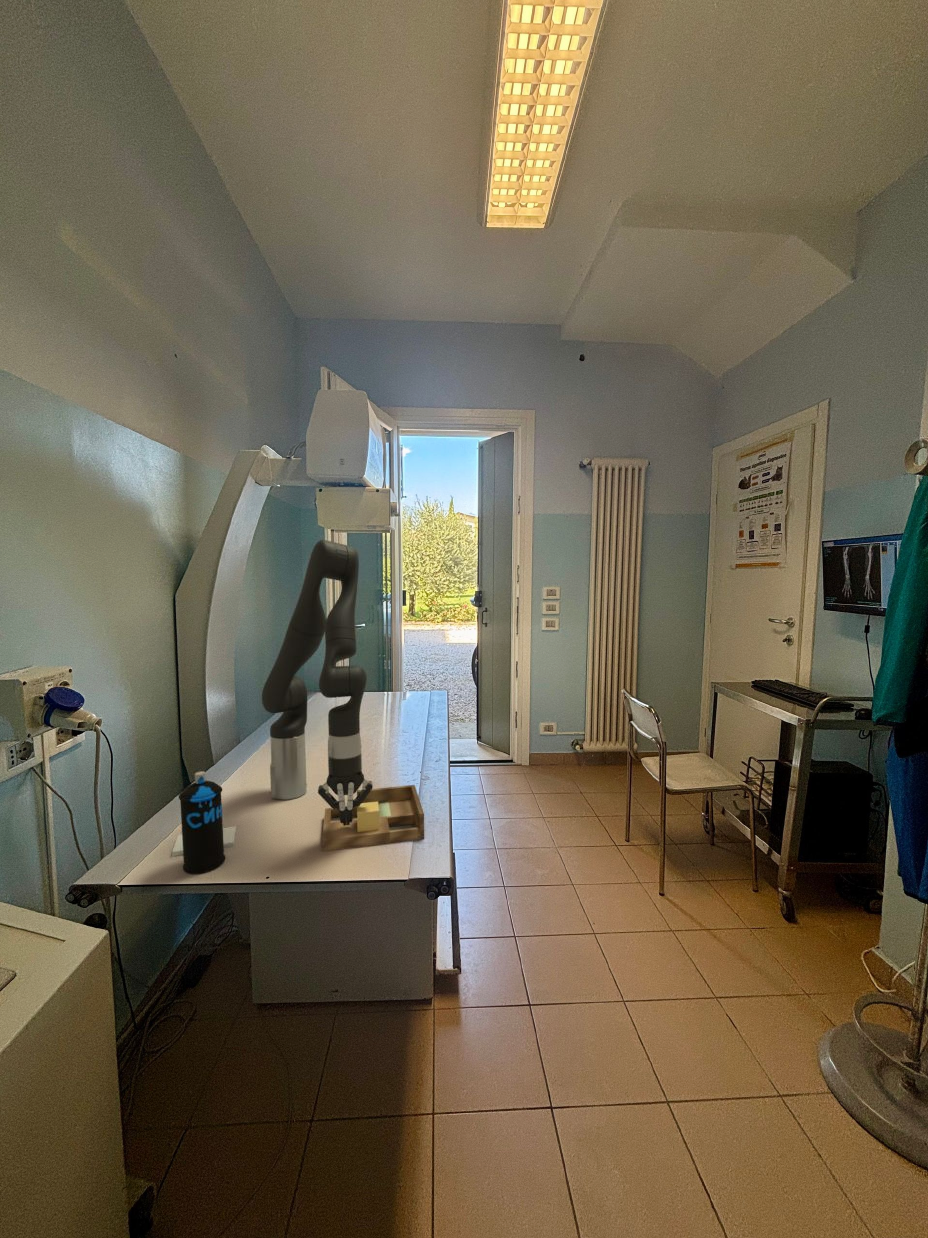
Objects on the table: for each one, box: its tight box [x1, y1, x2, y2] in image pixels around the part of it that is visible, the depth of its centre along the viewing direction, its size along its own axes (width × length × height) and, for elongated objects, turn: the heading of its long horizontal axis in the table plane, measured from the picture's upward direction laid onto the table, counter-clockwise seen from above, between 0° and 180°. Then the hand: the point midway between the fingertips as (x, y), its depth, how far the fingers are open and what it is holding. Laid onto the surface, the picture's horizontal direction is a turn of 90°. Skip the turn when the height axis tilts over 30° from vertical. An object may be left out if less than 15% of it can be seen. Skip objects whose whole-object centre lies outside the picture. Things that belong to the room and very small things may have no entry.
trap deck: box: [321, 784, 425, 852], centre depth 123 cm, size 23×17×6 cm
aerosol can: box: [178, 770, 227, 875], centre depth 107 cm, size 8×8×20 cm
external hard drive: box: [171, 825, 237, 857], centre depth 117 cm, size 2×8×12 cm
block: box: [357, 802, 380, 832], centre depth 119 cm, size 5×5×4 cm
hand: (346, 823), depth 118 cm, fingers closed
